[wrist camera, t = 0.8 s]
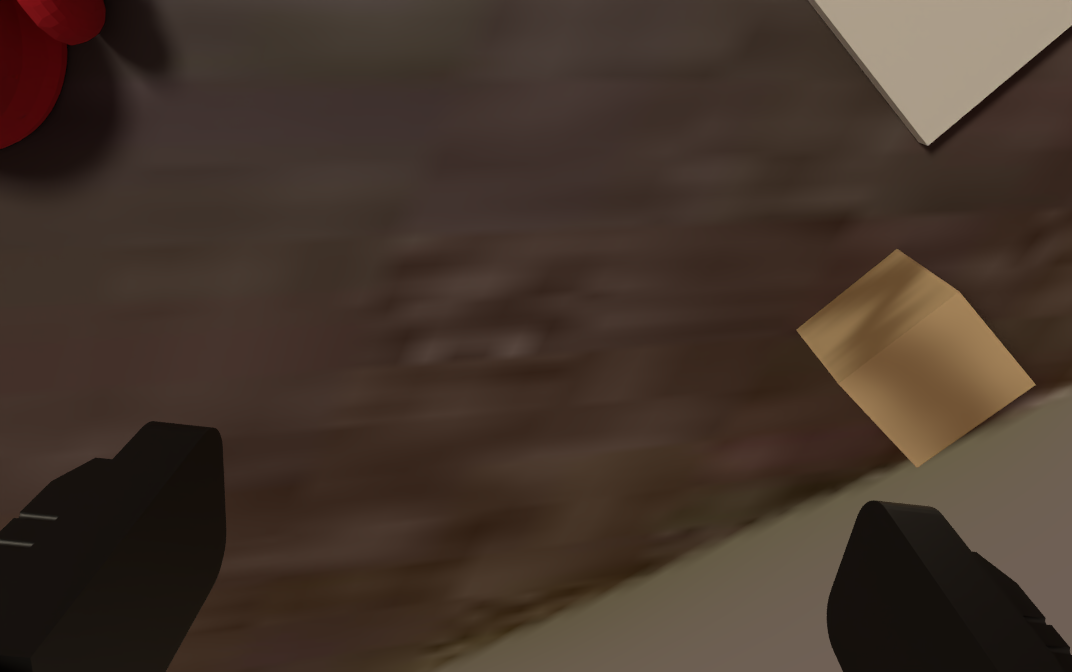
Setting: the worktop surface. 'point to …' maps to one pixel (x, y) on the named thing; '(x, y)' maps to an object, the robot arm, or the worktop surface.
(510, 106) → the worktop surface
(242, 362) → the worktop surface
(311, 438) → the worktop surface
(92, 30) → the alarm clock
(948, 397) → the maple block
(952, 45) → the plate
